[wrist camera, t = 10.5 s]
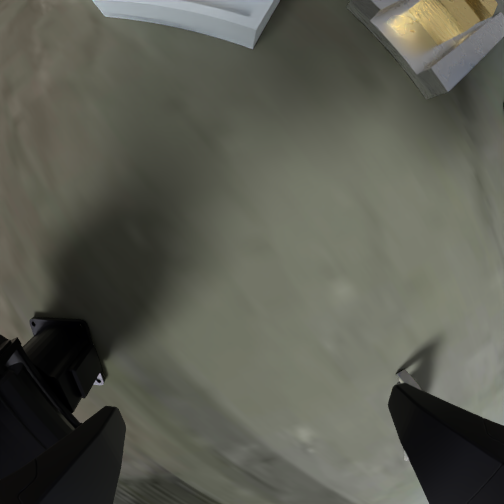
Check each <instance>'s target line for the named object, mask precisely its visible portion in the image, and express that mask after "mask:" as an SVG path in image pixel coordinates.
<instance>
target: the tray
mask: <svg viewBox="0 0 504 504" xmlns="http://www.w3.org/2000/svg"><path fill="white" fill-rule="evenodd" d="M92 1H93V2H94V3H95V5H96V6H97V7H98V8H99V9H100V11H101V12H102V13H103V14H104V16H105V17H114V18H123V19H131V20H138V21H145V22H151V23H157V24H162V25H167V26H172V27H177V28H181V29H186V30H190V31H194V32H198V33H202V34H205V35H209V36H213V37H216V38H219V39H223V40H226V41H229V42H232V43H236V44H239V45H242V46H245V47H247V48H250V49H253V48H254V46H255V44H256V42H257V40H258V38H259V37H260V35H261V33H262V31H263V29H264V28H265V26H266V24H267V22H268V21H269V19H270V17H271V15H272V14H273V12H274V10H275V9H276V7H277V5H278V4H279V2H280V0H92Z"/></svg>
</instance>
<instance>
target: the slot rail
mask: <svg viewBox="0 0 504 504" xmlns="http://www.w3.org/2000/svg"><path fill="white" fill-rule="evenodd" d="M419 1H420V0H351V1H350V2H349V4H348V5H347V6H346V8H347V9H348V10H349V11H350V12H351V13H353V14H354V15H355V16H356V17H357V18H358V19H359V20H360V21H361V22H362V23H363V24H364V25H365V26H366V27H367V28H368V29H369V30H370V31H371V32H372V33H373V34H374V35H375V37H376V38H377V39H378V40H379V41H380V42H381V43H382V44H383V45H384V46H385V48H386V49H387V50H388V51H389V52H390V53H391V54H392V56H393V57H394V58H395V59H396V60H397V62H398V63H399V64H400V65H401V66H402V68H403V69H404V70H405V71H406V73H407V74H408V75H409V77H410V78H411V79H412V80H413V82H414V83H415V85H416V86H417V87H418V89H419V90H420V91H421V93H422V94H423V96H424V97H425V98H426V99H428V98H431V97H435V96H438V95H441V94H444V93H447V92H449V91H450V90H451V89H452V88H453V87H454V86H455V85H456V84H457V83H458V82H459V81H460V80H461V79H462V78H463V77H464V76H465V75H466V74H467V73H468V72H469V71H470V70H471V69H472V68H473V67H474V66H475V65H476V64H477V63H478V62H479V61H480V60H481V59H482V58H483V57H484V56H485V55H486V54H487V53H488V52H489V51H490V50H491V49H492V48H493V47H494V46H495V45H496V44H497V43H498V42H499V41H500V40H501V39H502V38H503V37H504V16H503V14H502V13H501V12H500V13H498V14H495V15H493V16H492V17H490V18H488V19H485V20H483V21H481V22H479V23H477V24H475V25H474V26H472V27H471V28H469V29H468V30H467V31H465V32H463V33H461V34H459V35H457V36H455V37H453V38H451V39H449V40H447V41H445V42H443V43H442V44H440V45H437V44H436V42H435V41H434V40H433V39H432V37H431V36H430V35H429V34H428V32H427V31H426V30H425V29H424V28H423V27H422V25H421V24H420V23H419V22H418V21H417V20H416V19H415V17H414V16H413V15H412V14H411V13H410V12H409V11H408V10H409V9H410V8H411V7H413V6H414V5H415V4H416V3H418V2H419Z"/></svg>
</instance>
